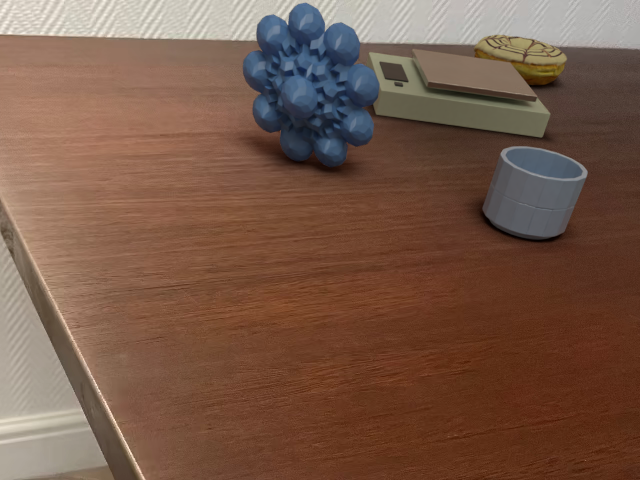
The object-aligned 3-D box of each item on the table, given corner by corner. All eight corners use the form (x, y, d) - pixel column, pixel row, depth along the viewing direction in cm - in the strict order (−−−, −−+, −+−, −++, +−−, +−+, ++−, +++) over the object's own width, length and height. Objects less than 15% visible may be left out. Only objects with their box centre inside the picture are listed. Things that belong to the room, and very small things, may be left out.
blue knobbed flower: (213, 158, 66) (230, -1, 59) (244, 135, 71) (263, -14, 64) (348, 196, 63) (383, 34, 56) (370, 169, 69) (405, 17, 61)
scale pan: (508, 68, 90) (510, 62, 89) (535, 102, 80) (537, 96, 80) (410, 54, 89) (412, 48, 89) (426, 87, 80) (428, 80, 79)
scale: (510, 94, 92) (518, 71, 91) (542, 137, 81) (551, 111, 80) (364, 73, 91) (369, 49, 90) (375, 114, 80) (381, 88, 79)
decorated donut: (511, 60, 105) (521, 29, 103) (575, 86, 99) (587, 54, 96) (453, 62, 100) (462, 30, 98) (517, 90, 94) (528, 56, 91)
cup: (550, 211, 66) (573, 152, 63) (572, 248, 61) (599, 185, 58) (473, 201, 66) (493, 141, 63) (490, 237, 61) (511, 173, 58)
